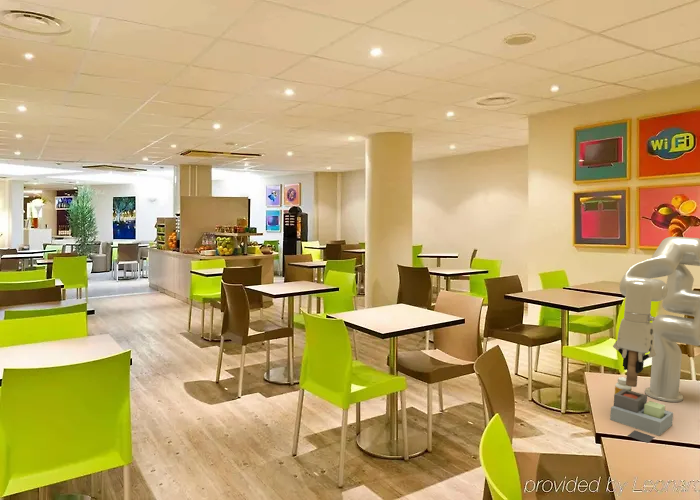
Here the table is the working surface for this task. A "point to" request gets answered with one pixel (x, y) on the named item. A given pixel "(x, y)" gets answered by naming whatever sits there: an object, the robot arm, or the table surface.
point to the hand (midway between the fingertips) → (632, 370)
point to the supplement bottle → (622, 385)
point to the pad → (641, 436)
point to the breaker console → (638, 413)
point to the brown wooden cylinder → (632, 369)
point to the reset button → (631, 396)
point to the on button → (654, 409)
